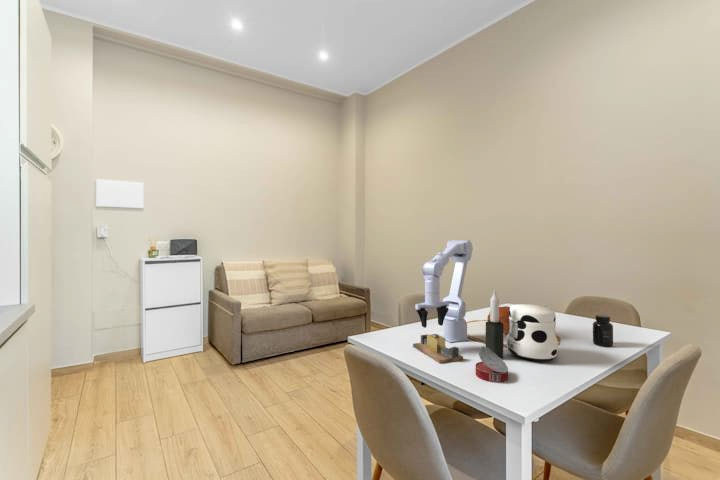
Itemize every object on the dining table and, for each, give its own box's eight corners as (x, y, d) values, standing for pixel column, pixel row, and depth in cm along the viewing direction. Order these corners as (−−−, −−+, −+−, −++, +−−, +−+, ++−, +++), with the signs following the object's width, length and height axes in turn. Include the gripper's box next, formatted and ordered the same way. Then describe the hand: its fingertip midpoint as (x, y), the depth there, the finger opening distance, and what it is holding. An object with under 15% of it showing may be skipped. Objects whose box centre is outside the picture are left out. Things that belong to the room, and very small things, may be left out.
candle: (495, 360, 120) (495, 291, 120) (484, 355, 124) (484, 289, 124) (504, 357, 122) (505, 290, 122) (493, 353, 127) (493, 288, 126)
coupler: (445, 351, 126) (445, 336, 126) (437, 352, 124) (437, 337, 124) (434, 346, 131) (434, 332, 131) (426, 347, 130) (426, 333, 130)
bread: (509, 324, 169) (509, 303, 168) (554, 340, 143) (555, 316, 143) (484, 327, 164) (484, 305, 164) (526, 344, 138) (526, 318, 138)
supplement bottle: (614, 344, 137) (614, 315, 137) (612, 348, 132) (612, 319, 132) (594, 341, 142) (594, 313, 141) (591, 344, 137) (591, 316, 136)
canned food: (493, 384, 111) (506, 357, 112) (508, 395, 101) (521, 365, 102) (464, 368, 111) (476, 341, 112) (475, 378, 101) (489, 348, 102)
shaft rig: (434, 343, 138) (434, 333, 138) (463, 359, 120) (463, 347, 120) (413, 346, 135) (413, 335, 135) (439, 363, 117) (439, 351, 117)
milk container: (563, 355, 125) (564, 308, 124) (550, 368, 112) (550, 316, 112) (516, 344, 137) (516, 301, 136) (499, 355, 124) (499, 308, 124)
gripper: (441, 289, 138) (441, 321, 138) (411, 291, 132) (411, 325, 133) (452, 292, 131) (452, 326, 131) (420, 294, 126) (420, 330, 126)
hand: (432, 325), depth 131 cm, fingers open, 7 cm apart
